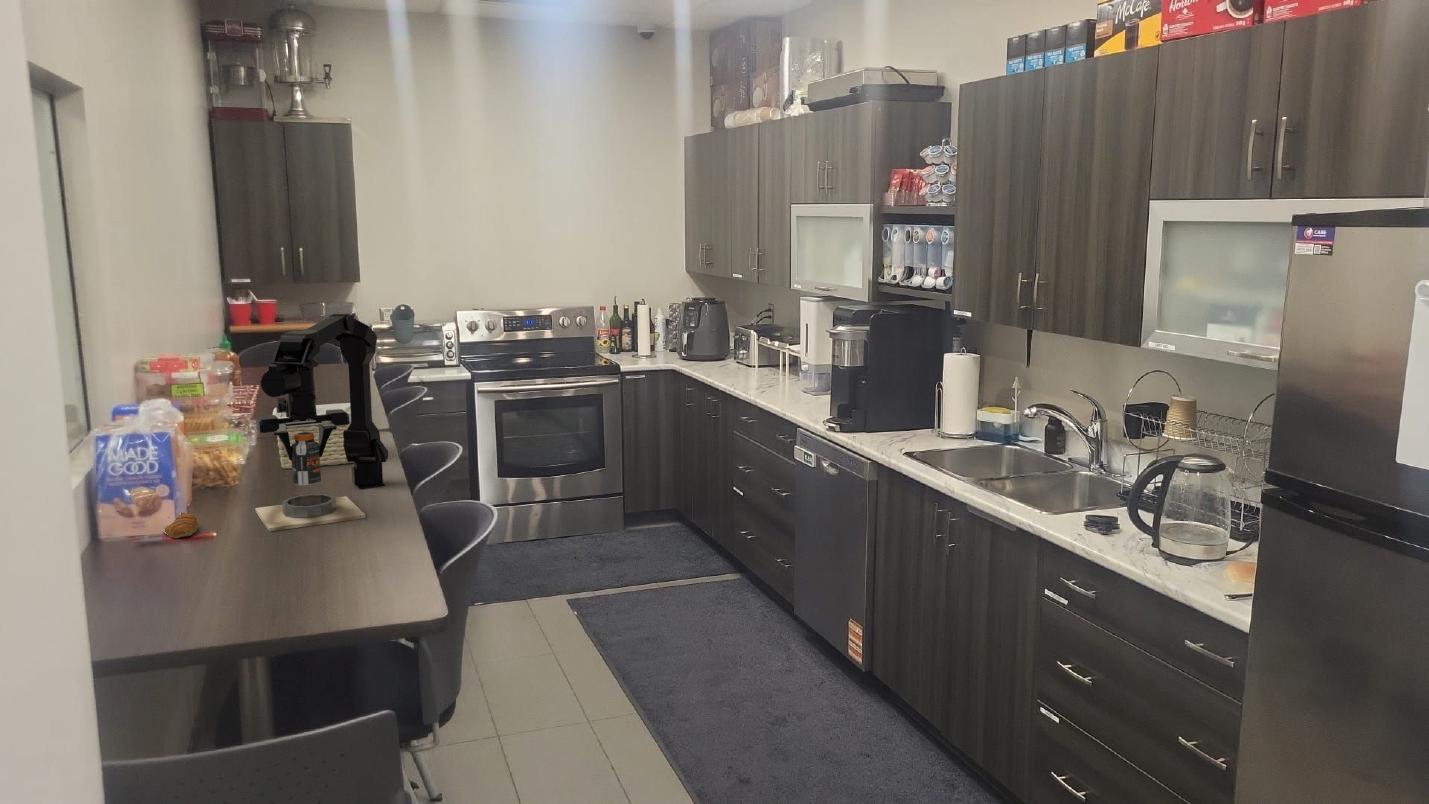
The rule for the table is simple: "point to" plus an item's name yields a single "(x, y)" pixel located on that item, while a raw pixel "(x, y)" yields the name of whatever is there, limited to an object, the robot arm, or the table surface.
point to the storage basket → (334, 444)
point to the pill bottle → (305, 459)
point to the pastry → (182, 526)
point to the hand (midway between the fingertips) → (305, 458)
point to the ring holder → (308, 512)
